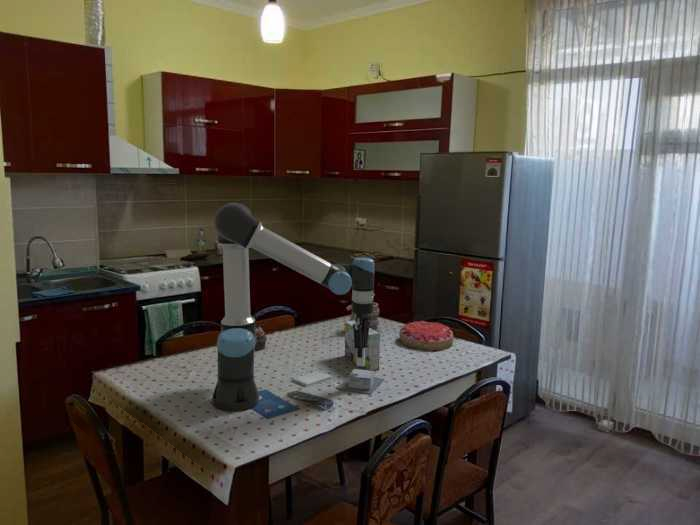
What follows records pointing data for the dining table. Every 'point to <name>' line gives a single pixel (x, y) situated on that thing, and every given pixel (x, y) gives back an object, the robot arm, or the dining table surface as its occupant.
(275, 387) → the dining table surface
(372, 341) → the snack box
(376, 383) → the rubber mat
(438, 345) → the cake
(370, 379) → the medicine box
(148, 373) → the dining table surface
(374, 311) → the tankard
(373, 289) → the robot arm
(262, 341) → the cupcake
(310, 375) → the hard drive
